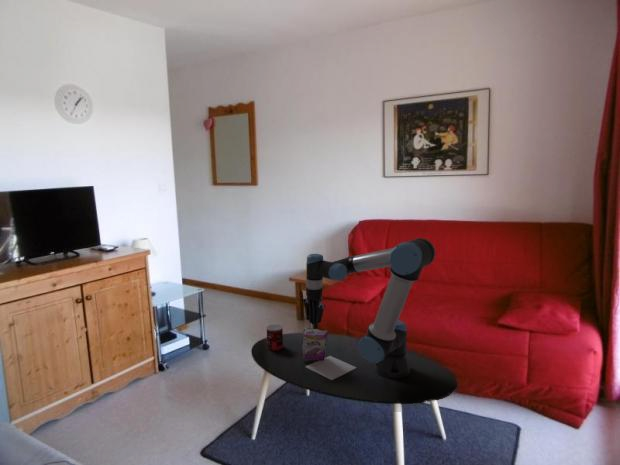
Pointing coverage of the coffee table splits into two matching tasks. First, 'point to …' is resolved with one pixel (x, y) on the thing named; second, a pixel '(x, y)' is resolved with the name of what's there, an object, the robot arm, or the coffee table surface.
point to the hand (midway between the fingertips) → (313, 335)
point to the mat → (331, 367)
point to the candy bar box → (314, 344)
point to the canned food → (274, 337)
